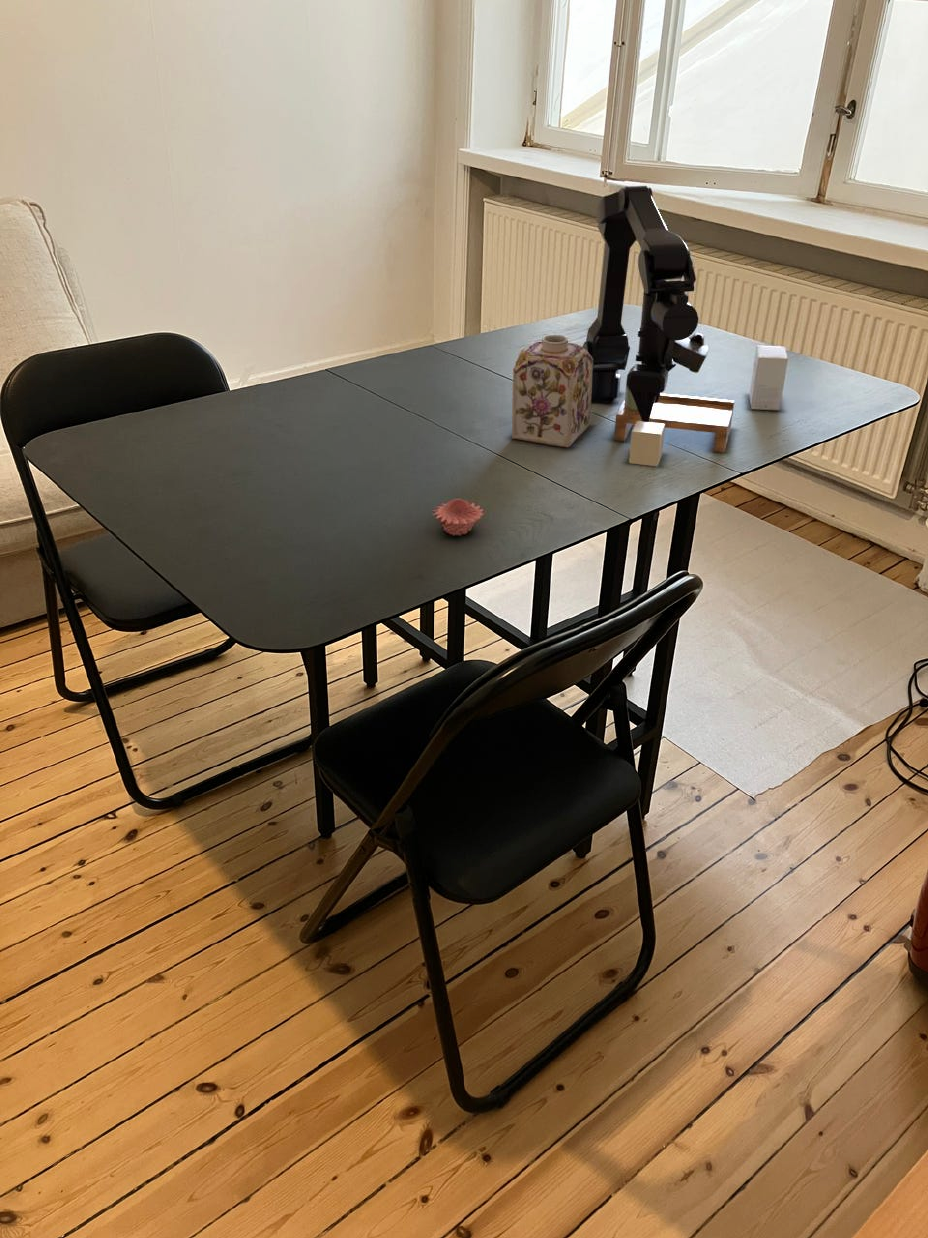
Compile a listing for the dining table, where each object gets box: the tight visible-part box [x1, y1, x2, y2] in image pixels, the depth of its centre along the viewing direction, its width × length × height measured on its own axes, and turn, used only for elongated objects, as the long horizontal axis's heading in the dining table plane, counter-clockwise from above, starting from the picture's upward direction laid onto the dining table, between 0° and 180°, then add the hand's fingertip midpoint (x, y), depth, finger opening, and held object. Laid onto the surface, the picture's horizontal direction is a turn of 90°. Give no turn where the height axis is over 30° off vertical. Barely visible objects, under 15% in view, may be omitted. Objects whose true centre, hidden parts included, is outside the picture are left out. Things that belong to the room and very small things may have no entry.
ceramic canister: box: [624, 379, 638, 410], centre depth 185 cm, size 5×5×5 cm
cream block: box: [628, 421, 666, 467], centre depth 176 cm, size 5×5×6 cm
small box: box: [749, 344, 789, 411], centre depth 197 cm, size 8×6×10 cm
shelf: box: [613, 393, 735, 453], centre depth 185 cm, size 20×11×6 cm, turn 72°
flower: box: [432, 498, 485, 536], centre depth 154 cm, size 8×8×6 cm
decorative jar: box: [511, 334, 594, 448], centre depth 184 cm, size 12×12×18 cm
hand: (650, 411), depth 173 cm, fingers open, 9 cm apart
